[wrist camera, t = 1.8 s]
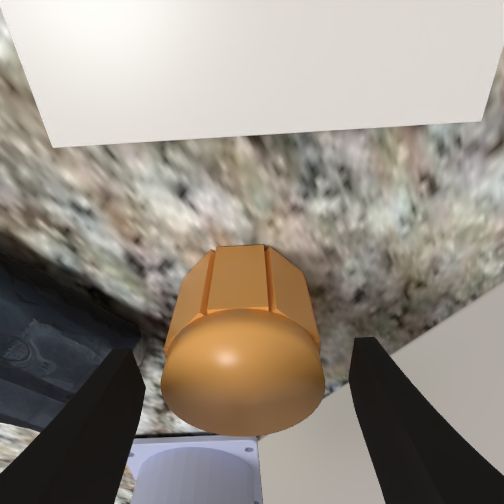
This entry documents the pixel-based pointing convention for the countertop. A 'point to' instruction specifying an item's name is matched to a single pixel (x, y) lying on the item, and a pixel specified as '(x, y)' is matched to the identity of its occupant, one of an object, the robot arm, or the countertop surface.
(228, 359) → the orange acorn nut
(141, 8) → the white base plate
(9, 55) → the countertop surface
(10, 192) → the countertop surface
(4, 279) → the electronic device
